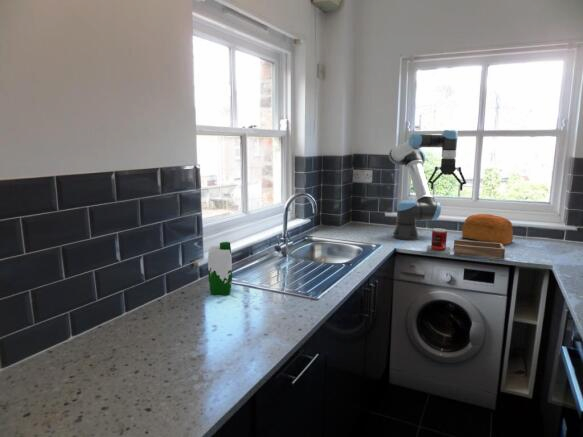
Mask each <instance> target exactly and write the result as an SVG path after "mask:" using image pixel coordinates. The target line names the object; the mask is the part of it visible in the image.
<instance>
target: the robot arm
mask: <svg viewBox="0 0 583 437" xmlns="http://www.w3.org/2000/svg"><path fill="white" fill-rule="evenodd" d="M457 146H458V130H457V129H444V130H443V132H442V133H412V134H411V135H410V136H409V137H408V140H407V141H405V142H404V143H402V144H400V145H399V146H398V145H397V146H394V147H393V148H391V149H390V151H389V153H388V159H389V161H390V162H392V164H395V165H397V166H405V169H406V170H407V171H408V172H409V175H410V179H411V183H412V185H413V190H414V193H415V197H416V199H405V200H404V199H403V200H399V202H398V203H397V208H396V211H397V212H396V224H395V227H394V231H393V233H392V234H393V235H392V237H393V238H394V239H398V240H402V241H403V240H404V241H413V240H418V239H419V232H418V230H417V229H418V228H417V221H419V222H421V221H429V222H431V221H435V220H437V219H438V218H439V217H440V215H441V212H442V211H441V210H442V208H441V207H442V206H441V203H440V202H439V201H435V200H436V199H435V197H434V196H435V186H436V181H437V180H438V179H439V178H441V176H442V175H445V176H446V175H448V176H451V175H452V176H453V177H454V178H455V179H456V181H457V182H458V193H457V196H458V197H460V195H461V191H463V185H466V184H467V181H466V179H465V177H464V174H463V172H462V168H461V166H459V167H457V166H456V161H457V160H456V158H457ZM423 148H441V160H440V166H435V167H434V171H433V172H432V174H431V176H430V177H429V179H428V181H427V179H426V175H425V172H424V168H423V166H424V164H425V161H426V153H425V151H424V149H423ZM439 170H440V173H439V174H438V175H437V176H436V173H437V171H439ZM456 170H457V172H458V173H459V175H460V177H461V179H462V180H461V179H460V178H459V177H458V175H456V173H455V171H456ZM434 176H436V177H435V178H434ZM433 178H434V179H433ZM428 183H429V184H430V188H429V185H428ZM430 190H432V195H431V192H430Z"/></svg>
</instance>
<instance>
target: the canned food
mask: <svg viewBox="0 0 583 437" xmlns="http://www.w3.org/2000/svg"><path fill="white" fill-rule="evenodd" d="M447 236H448V230H447V229H446V228H436V227H435V228H432V232H431V245H430V246H431V248H432V249H433V250H437V251H444V250H445V249H446V247H447Z"/></svg>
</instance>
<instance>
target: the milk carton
mask: <svg viewBox="0 0 583 437" xmlns="http://www.w3.org/2000/svg"><path fill="white" fill-rule="evenodd" d="M207 256H208V257H207V267H208V273H207V274H208V285H209V291H210V296H211V295H221V296H230V294H231V290H232V282H233V262H232V261H233V260H232V247H231V242H229V241H223V242H222V241H221V242H219V245H217V246H216V245H215V246H214V245H213V246H212V245H211V246H210V248H209V250H208V255H207Z"/></svg>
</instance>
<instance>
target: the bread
mask: <svg viewBox="0 0 583 437" xmlns="http://www.w3.org/2000/svg"><path fill="white" fill-rule="evenodd" d="M463 222H464V223H463V225H462V232H461V233H462V234H461V237H462V238H463V239H468V240H469V239H470V240H473V241H478V242H491V243H502V244H503V246H505V245H509V244H511V243H513V239H514V238H513V237H514V236H513V235H514V230H513V225H512V224H513V223H512V221H510V220H509V219H507V218H505V217H502V216H498V215H494V214H489V213H478V214H473V215H469V216H467V217H466V218H465V220H464V221H463Z"/></svg>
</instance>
